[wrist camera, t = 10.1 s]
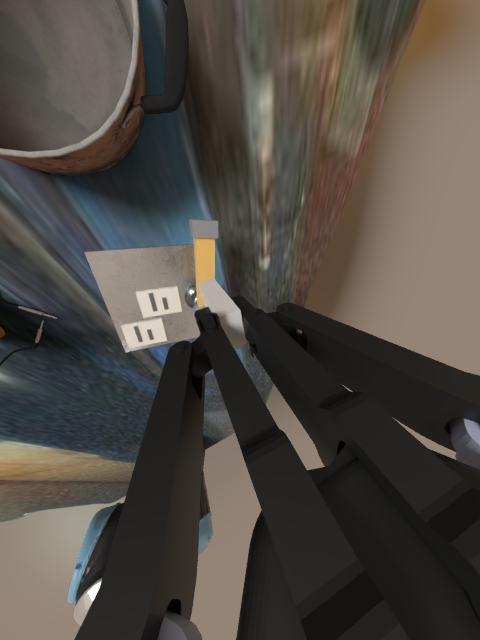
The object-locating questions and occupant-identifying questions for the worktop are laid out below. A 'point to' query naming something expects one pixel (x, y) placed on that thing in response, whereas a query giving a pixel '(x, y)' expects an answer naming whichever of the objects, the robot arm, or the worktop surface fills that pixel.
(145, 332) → the label
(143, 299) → the label
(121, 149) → the cooking pot
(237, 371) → the robot arm
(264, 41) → the worktop surface
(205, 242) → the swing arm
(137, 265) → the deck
